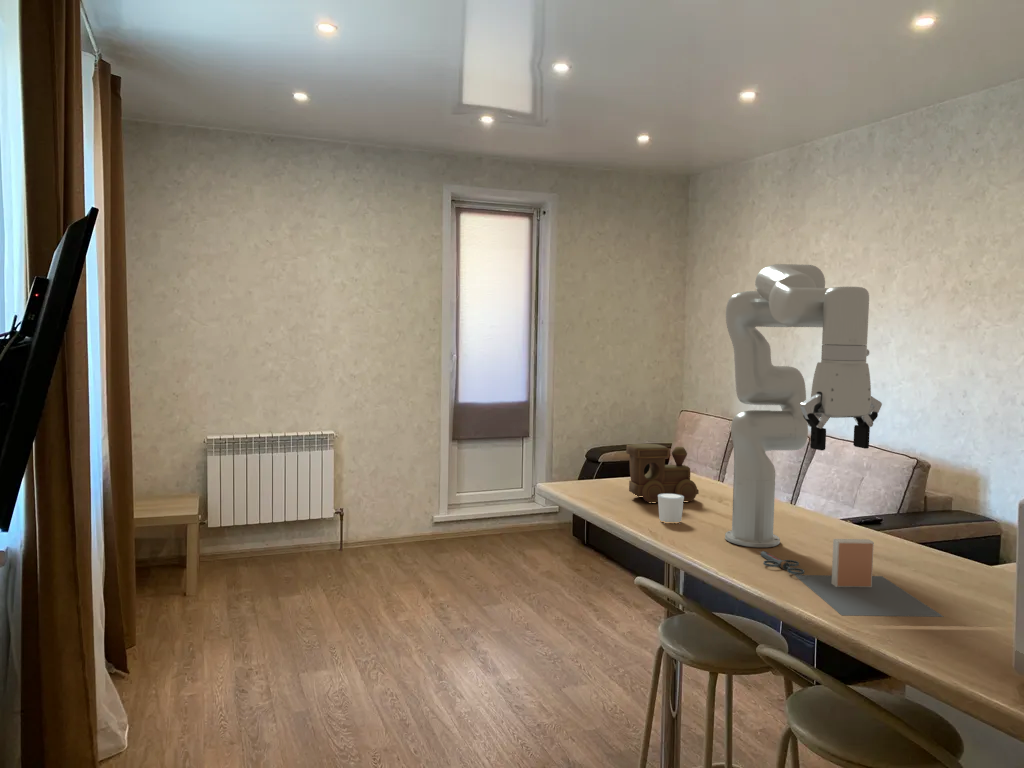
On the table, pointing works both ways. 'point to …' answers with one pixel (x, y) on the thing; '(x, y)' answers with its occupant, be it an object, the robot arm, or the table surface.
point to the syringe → (781, 563)
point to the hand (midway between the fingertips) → (839, 448)
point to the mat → (868, 598)
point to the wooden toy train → (659, 472)
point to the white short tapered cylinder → (670, 507)
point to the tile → (852, 562)
